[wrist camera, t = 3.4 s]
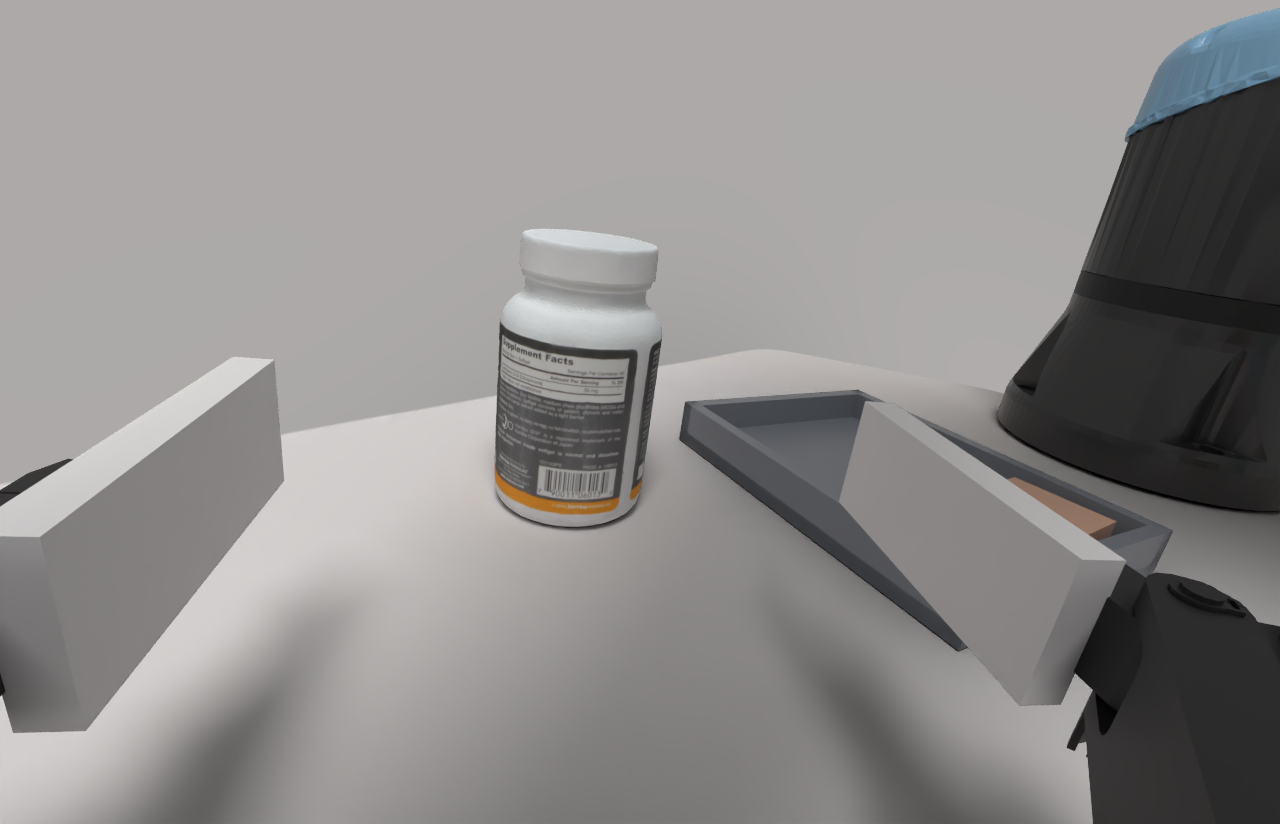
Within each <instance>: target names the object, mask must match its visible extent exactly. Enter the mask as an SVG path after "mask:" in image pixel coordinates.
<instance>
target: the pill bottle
mask: <svg viewBox="0 0 1280 824" xmlns="http://www.w3.org/2000/svg"><path fill="white" fill-rule="evenodd" d="M657 261H658V248H657V247H656V246H655V245H653V244H650V243H647V242H644V241H640V240H636V239H632V238H627V237H621V236H616V235H609V234H602V233H594V232H586V231H575V230H561V229H532V230H526V231H524V232H523V233H522V237H521V249H520V266H521V268H522V273H523V275H524V276H526V278H525V287H524V290H523V291H521V292H519V293H517V294H516V295H515V296H513V297H512V298H511V299H510V300H509V301H508V303H507V304H506V306H505V308H504V310H503V313H502V317H501V320H500V334H499V340H500V345H499V366H498V370H499V373H498V384H497V414H496V445H495V488H496V491H497V493H498V495H499V497H500V499H501V500H502V501H503V502H504V503H505V504H506V505H507V506H508V507H509V508H510V509H511V510H513V511H514V512H516V513H518V514H519V515H521V516H523V517H525V518H528V519H531V520H534V521H537V522H540V523H545V524H550V525H555V526H566V527H580V526H591V525H596V524H602V523H606V522H609V521H612V520H614V519H616V518H618V517H620V516H622V515H623V514H625V513H627V512H628V511H629V510H630V509H631V507H632V506H633V505H634V504H635V503H636V501H637V498H638V496H639V493H640V487H641V482H642V476H643V471H644V461H645V454H646V447H647V440H648V433H649V426H650V419H651V412H652V405H653V397H654V390H655V384H656V378H657V369H658V362H659V355H660V348H661V341H662V329H661V324H660V321H659V318H658V317H657V315H656V314H655V312H654V311H653V310H652V309H651V308H650V307H649V306H648V305H647V304H646V301H645V298H646V290H648V289H650V288H651V285H652V283H653V282H654V281H655V279H656V271H657Z"/></svg>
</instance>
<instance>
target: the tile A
mask: <svg viewBox="0 0 1280 824" xmlns="http://www.w3.org/2000/svg"><path fill="white" fill-rule="evenodd" d="M1007 480H1008V481H1010V482H1011V483H1013V484H1014V485H1016V486H1017V487H1019V488H1020V489H1022V490H1023V491H1024V492H1026V493H1027V494H1029V495H1030V496H1032V497H1033V498H1035V499H1036V500H1038V501H1039V502H1041V503H1042V504H1044V505H1045V506H1047V507H1048V508H1050V509H1051V510H1053V511H1054V512H1055V513H1057V514H1058V515H1060V516H1061V517H1063V518H1064V519H1066V520H1067V521H1069V522H1070V523H1072V524H1073V525H1075V526H1076V527H1078V528H1079V529H1081V530H1082V531H1084V532H1085V533H1086V534H1088V535H1089V536H1091V537H1092V538H1094V539H1095V540H1097V541H1098V540H1102V539H1105V538H1108V537H1110V536H1111V533H1112V531H1113V529H1114V527H1115V524H1116V522H1117V521H1115V520H1112V519H1110V518H1108V517H1105V516H1103V515H1101V514H1098V513H1096V512H1094V511H1092V510H1089V509H1087V508H1085V507H1082V506H1080V505H1078V504H1075V503H1073V502H1071V501H1069V500H1066V499H1064V498H1062V497H1059V496H1057V495H1055V494H1052V493H1050V492H1048V491H1046V490H1043V489H1041V488H1039V487H1036V486H1034V485H1032V484H1029V483H1027V482H1025V481H1023V480H1020V479H1018V478H1016V477H1013V478H1010V479H1007Z"/></svg>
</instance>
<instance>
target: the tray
mask: <svg viewBox="0 0 1280 824" xmlns="http://www.w3.org/2000/svg"><path fill="white" fill-rule="evenodd" d="M865 401H871V402H884V401H882V400H879V399H877V398H875V397H873V396H870V395H868V394H866V393H864V392H862V391H859V390H849V391H835V392H820V393H806V394H791V395H777V396H762V397H748V398H733V399H719V400H704V401H690V402H685V406H684V413H683V419H682V425H681V432H680V438H679V439H680V440H681V441H682V442H684V443H685V444H686V445H688V446H689V447H690V448H692V449H693V450H694V451H696V452H697V453H698V454H700V455H701V456H702V457H704V458H705V459H706V460H708V461H709V462H710V463H711V464H713V465H714V466H715V467H717V468H718V469H719V470H721V471H722V472H723V473H725V474H726V475H727V476H729V477H730V478H731V479H733V480H734V481H735V482H737V483H738V484H739V485H740V486H742V487H743V488H744V489H746V490H747V491H748V492H750V493H751V494H752V495H754V496H755V497H756V498H758V499H759V500H760V501H762V502H763V503H764V504H766V505H767V506H768V507H769V508H771V509H772V510H773V511H775V512H776V513H777V514H779V515H780V516H781V517H783V518H784V519H785V520H787V521H788V522H789V523H791V524H792V525H793V526H795V527H796V528H797V529H798V530H800V531H801V532H802V533H804V534H805V535H806V536H808V537H809V538H810V539H812V540H813V541H814V542H816V543H817V544H818V545H820V546H821V547H822V548H824V549H825V550H826V551H827V552H829V553H830V554H831V555H833V556H834V557H835V558H837V559H838V560H839V561H841V562H842V563H843V564H845V565H846V566H847V567H849V568H850V569H851V570H853V571H854V572H855V573H856V574H858V575H859V576H860V577H862V578H863V579H864V580H866V581H867V582H868V583H870V584H871V585H872V586H874V587H875V588H876V589H878V590H879V591H880V592H881V593H883V594H884V595H885V596H887V597H888V598H889V599H891V600H892V601H893V602H895V603H896V604H897V605H899V606H900V607H901V608H903V609H904V610H905V611H907V612H908V613H909V614H910V615H912V616H913V617H914V618H916V619H917V620H918V621H920V622H921V623H922V624H924V625H925V626H926V627H928V628H929V629H930V630H932V631H933V632H934V633H936V634H937V635H938V636H939V637H941V638H942V639H943V640H945V641H946V642H947V643H949V644H950V645H951V646H953V647H954V648H955V649H957V650H958V651H959V650H962V649H965V648H967V646H966V645H965V644H964V642H963V641H962V640H961V639H960V638H959V637H958V636H957V634H956V633H955V632H954V631H953V630H952V629H951V628H950V627H949V625H948V624H947V623H946V622H945V621H944V620H943V619H942V618H941V616H940V615H939V614H938V613H937V612H936V611H935V610H934V609H933V607H932V606H931V605H930V604H929V603H928V602H927V601H926V600H925V598H924V597H923V596H922V595H921V594H920V593H919V592H918V590H917V589H916V588H915V587H914V586H913V585H912V584H911V583H910V581H909V580H908V579H907V578H906V577H905V576H904V575H903V574H902V572H901V571H900V570H899V569H898V568H897V567H896V566H895V565H894V563H893V562H892V561H891V560H890V559H889V558H888V557H887V556H886V554H885V553H884V552H883V551H882V550H881V549H880V548H879V546H878V545H877V544H876V543H875V542H874V541H873V540H872V539H871V537H870V536H869V535H868V534H867V533H866V532H865V531H864V530H863V528H862V527H861V526H860V525H859V524H858V523H857V522H856V521H855V519H854V518H853V517H852V516H851V515H850V514H849V513H848V512H847V510H846V509H845V508H844V507H843V506H842V505H841V504H840V502H839V499H840V495H841V492H842V488H843V484H844V480H845V476H846V473H847V469H848V465H849V461H850V457H851V453H852V450H853V446H854V442H855V438H856V434H857V431H858V427H859V423H860V419H861V415H862V412H863V408H864V404H865ZM885 403H886V402H885ZM908 413H909V412H908ZM909 414H911V413H909ZM911 415H912V416H914V417H915V418H917V419H918V420H920V421H921V422H923V423H924V424H926V425H927V426H929V427H930V428H932V429H933V430H934V431H936V432H937V433H939V434H940V435H942V436H943V437H945V438H946V439H948V440H949V441H951V442H952V443H954V444H955V445H957V446H958V447H960V448H961V449H962V450H964V451H965V452H967V453H968V454H970V455H971V456H973V457H974V458H976V459H977V460H979V461H980V462H982V463H983V464H985V465H986V466H988V467H989V468H991V469H992V470H993V471H995V472H996V473H998V474H999V475H1001V476H1002V477H1004V478H1005V479H1010V478H1013V477H1016V478H1018V479H1020V480H1023V481H1025V482H1027V483H1029V484H1032V485H1034V486H1036V487H1039V488H1041V489H1043V490H1046V491H1048V492H1050V493H1052V494H1055V495H1057V496H1059V497H1062V498H1064V499H1066V500H1069V501H1071V502H1073V503H1075V504H1078V505H1080V506H1082V507H1085V508H1087V509H1089V510H1092V511H1094V512H1096V513H1098V514H1101V515H1103V516H1105V517H1108V518H1110V519H1112V520H1115V521H1117V522H1116V524H1115V527H1114V529H1113V531H1112V533H1111V536H1110V537H1108V538H1105V539H1102V540H1098V542H1100V543H1101V544H1103V545H1104V546H1106V547H1107V548H1109V549H1110V550H1112V551H1113V552H1115V553H1116V554H1117V555H1119V556H1120V557H1122V558H1123V559H1125V560H1126V563H1125V564H1127V565H1128V566H1130V567H1131V568H1132V569H1134V570H1135V571H1137V572H1138V573H1140V574H1141V575H1143V576H1144V577H1147V575H1150V574H1153V572H1154V570H1155V567H1156V565H1157V563H1158V561H1159V559H1160V557H1161V555H1162V553H1163V551H1164V549H1165V547H1166V544H1167V542H1168V540H1169V538H1170V536H1171V534H1172V532H1173V530H1170V529H1168V528H1166V527H1164V526H1162V525H1159V524H1157V523H1155V522H1153V521H1150V520H1148V519H1146V518H1144V517H1141V516H1139V515H1137V514H1135V513H1132V512H1130V511H1128V510H1126V509H1123V508H1121V507H1119V506H1117V505H1115V504H1112V503H1110V502H1108V501H1106V500H1103V499H1101V498H1099V497H1097V496H1094V495H1092V494H1090V493H1088V492H1085V491H1083V490H1081V489H1079V488H1076V487H1074V486H1072V485H1070V484H1068V483H1065V482H1063V481H1061V480H1059V479H1056V478H1054V477H1052V476H1050V475H1047V474H1045V473H1043V472H1041V471H1038V470H1036V469H1034V468H1032V467H1029V466H1027V465H1025V464H1023V463H1020V462H1018V461H1016V460H1014V459H1012V458H1009V457H1007V456H1005V455H1003V454H1000V453H998V452H996V451H994V450H991V449H989V448H987V447H985V446H982V445H980V444H978V443H976V442H973V441H971V440H969V439H967V438H965V437H962V436H960V435H958V434H956V433H953V432H951V431H949V430H947V429H944V428H942V427H940V426H938V425H935V424H933V423H931V422H929V421H926V420H924V419H922V418H920V417H917V416H915V415H913V414H911Z"/></svg>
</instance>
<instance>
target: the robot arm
mask: <svg viewBox="0 0 1280 824" xmlns="http://www.w3.org/2000/svg"><path fill="white" fill-rule="evenodd" d="M1125 142H1128V144H1127V147H1126V150H1125V153H1124V156H1123V158H1122V161H1121V164H1120V167H1119V169H1118V172H1117V175H1116V178H1115V181H1114V184H1113V186H1112V189H1111V192H1110V195H1109V198H1108V200H1107V203H1106V206H1105V208H1104V211H1103V213H1102V216H1101V219H1100V221H1099V224H1098V227H1097V229H1096V232H1095V235H1094V237H1093V240H1092V243H1091V245H1090V248H1089V251H1088V254H1087V256H1086V259H1085V261H1084V264H1083V267H1082V270H1081V274H1080V276H1079V278H1078V281H1077V284H1076V287H1075V290H1074V293H1073V295H1072V297H1071V300H1070V303H1069V305H1068V307H1067V308H1066V310H1065V312H1064V313H1063V314H1062V316H1061V317H1060V318H1059V319H1058V321H1057V322H1056V323H1055V324H1054V326H1053V327H1052V329H1051V330H1050V331H1049V332H1048V333H1047V335H1046V336H1045V337H1044V339H1043V340H1042V341H1041V342H1040V344H1039V345H1038V346H1037V347H1036V349H1035V350H1034V351H1033V352H1032V354H1031V355H1030V356H1029V358H1028V359H1027V360H1026V361H1025V363H1024V364H1023V365H1022V366H1021V368H1020V369H1019V371H1018V372H1017V373H1016V374H1015V375H1014V377H1013V378H1012V379H1011V380H1010V382H1009V384H1008V386H1007V388H1006V390H1005V393H1004V396H1003V399H1002V402H1001V405H1000V408H999V411H998V414H997V417H998V420H999V421H1000V423H1001V424H1002V425H1003V426H1004V427H1005V428H1006V429H1007V430H1009V431H1010V432H1011V433H1012V434H1014V435H1015V436H1017V437H1018V438H1020V439H1022V440H1023V441H1025V442H1027V443H1029V444H1030V445H1032V446H1034V447H1036V448H1038V449H1040V450H1042V451H1044V452H1046V453H1048V454H1050V455H1053V456H1055V457H1057V458H1059V459H1062V460H1064V461H1066V462H1069V463H1071V464H1074V465H1076V466H1079V467H1081V468H1084V469H1086V470H1089V471H1092V472H1095V473H1097V474H1100V475H1103V476H1106V477H1109V478H1112V479H1115V480H1118V481H1121V482H1124V483H1127V484H1131V485H1134V486H1137V487H1141V488H1144V489H1148V490H1151V491H1155V492H1159V493H1162V494H1166V495H1170V496H1174V497H1178V498H1183V499H1187V500H1192V501H1196V502H1201V503H1206V504H1211V505H1217V506H1223V507H1229V508H1237V509H1245V510H1257V511H1280V8H1278V9H1274V10H1270V11H1266V12H1262V13H1258V14H1254V15H1251V16H1247V17H1244V18H1241V19H1237V20H1234V21H1231V22H1229V23H1226V24H1223V25H1220V26H1217V27H1215V28H1212V29H1210V30H1208V31H1205V32H1203V33H1201V34H1199V35H1197V36H1195V37H1193V38H1191V39H1190V40H1188V41H1186V42H1185V43H1183V44H1182V45H1180V46H1179V47H1178V48H1177V49H1175V50H1174V51H1173V52H1172V53H1171V54H1170V55H1169V56H1168V57H1167V58H1166V59H1165V60H1164V61H1163V62H1162V64H1161V65H1160V66H1159V68H1158V70H1157V72H1156V73H1155V75H1154V78H1153V80H1152V83H1151V85H1150V87H1149V90H1148V92H1147V94H1146V97H1145V99H1144V102H1143V104H1142V106H1141V108H1140V111H1139V113H1138V115H1137V118H1136V120H1135V123H1134V125H1132V126H1131V127H1130V128H1129V129H1128V131H1127V133H1126V136H1125ZM278 411H279V410H278V398H277V386H276V373H275V361H274V360H271V359H257V358H243V357H232V358H230V359H229V360H227V361H226V362H224V363H223V364H221V365H220V366H218V367H217V368H215V369H213V370H212V371H210V372H209V373H207V374H206V375H204V376H203V377H201V378H200V379H198V380H196V381H195V382H193V383H192V384H190V385H189V386H187V387H185V388H184V389H182V390H181V391H179V392H178V393H176V394H175V395H173V396H171V397H170V398H168V399H167V400H165V401H164V402H162V403H161V404H159V405H158V406H156V407H154V408H153V409H151V410H150V411H148V412H147V413H145V414H143V415H142V416H140V417H139V418H137V419H136V420H134V421H133V422H131V423H130V424H128V425H126V426H125V427H123V428H122V429H120V430H119V431H117V432H116V433H114V434H112V435H111V436H109V437H108V438H106V439H105V440H103V441H102V442H100V443H98V444H97V445H95V446H94V447H92V448H91V449H89V450H88V451H86V452H84V453H83V454H81V455H80V456H78V457H77V458H75V459H66V460H63V461H61V462H58V463H55V464H52V465H50V466H47V467H44V468H41V469H39V470H36V471H33V472H30V473H28V474H26V475H24V476H23V477H21V478H19V479H18V480H16V481H14V482H13V483H11V484H10V485H8V486H6V487H5V488H3V489H1V490H0V696H1V695H2V696H3V700H4V703H5V706H6V710H7V713H8V717H9V720H10V724H11V727H12V730H13V733H27V732H64V731H86V730H87V729H88V728H89V726H90V725H91V724H92V722H93V721H94V720H95V719H96V717H97V716H98V715H99V714H100V712H101V711H102V710H103V709H104V707H105V706H106V705H107V704H108V702H109V701H110V700H111V698H112V697H113V696H114V695H115V693H116V692H117V691H118V690H119V688H120V687H121V686H122V685H123V683H124V682H125V681H126V680H127V678H128V677H129V676H130V674H131V673H132V672H133V671H134V669H135V668H136V667H137V666H138V664H139V663H140V662H141V661H142V659H143V658H144V657H145V656H146V654H147V653H148V652H149V651H150V649H151V648H152V647H153V645H154V644H155V643H156V642H157V640H158V639H159V638H160V637H161V635H162V634H163V633H164V632H165V630H166V629H167V628H168V627H169V625H170V624H171V623H172V621H173V620H174V619H175V618H176V616H177V615H178V614H179V613H180V611H181V610H182V609H183V608H184V606H185V605H186V604H187V603H188V601H189V600H190V599H191V598H192V596H193V595H194V594H195V592H196V591H197V590H198V589H199V587H200V586H201V585H202V584H203V582H204V581H205V580H206V579H207V577H208V576H209V575H210V574H211V572H212V571H213V570H214V568H215V567H216V566H217V565H218V563H219V562H220V561H221V560H222V558H223V557H224V556H225V555H226V553H227V552H228V551H229V550H230V548H231V547H232V546H233V544H234V543H235V542H236V541H237V539H238V538H239V537H240V536H241V534H242V533H243V532H244V531H245V529H246V528H247V527H248V526H249V524H250V523H251V522H252V521H253V519H254V518H255V517H256V515H257V514H258V513H259V512H260V510H261V509H262V508H263V507H264V505H265V504H266V503H267V502H268V500H269V499H270V498H271V497H272V495H273V494H274V493H275V491H276V490H277V489H278V488H279V486H280V485H281V484H282V483H283V481H284V473H283V460H282V448H281V435H280V424H279V412H278ZM839 502H840V504H841V505H842V506H843V507H844V508H845V509H846V510H847V512H848V513H849V514H850V515H851V516H852V517H853V518H854V519H855V521H856V522H857V523H858V524H859V525H860V526H861V527H862V528H863V530H864V531H865V532H866V533H867V534H868V535H869V536H870V537H871V539H872V540H873V541H874V542H875V543H876V544H877V545H878V546H879V548H880V549H881V550H882V551H883V552H884V553H885V554H886V556H887V557H888V558H889V559H890V560H891V561H892V562H893V563H894V565H895V566H896V567H897V568H898V569H899V570H900V571H901V572H902V574H903V575H904V576H905V577H906V578H907V579H908V580H909V581H910V583H911V584H912V585H913V586H914V587H915V588H916V589H917V590H918V592H919V593H920V594H921V595H922V596H923V597H924V598H925V600H926V601H927V602H928V603H929V604H930V605H931V606H932V607H933V609H934V610H935V611H936V612H937V613H938V614H939V615H940V616H941V618H942V619H943V620H944V621H945V622H946V623H947V624H948V625H949V627H950V628H951V629H952V630H953V631H954V632H955V633H956V634H957V636H958V637H959V638H960V639H961V640H962V641H963V642H964V644H965V645H966V646H967V647H968V648H969V649H970V650H971V651H972V653H973V654H974V655H975V656H976V657H977V658H978V659H979V660H980V662H981V663H982V664H983V665H984V666H985V667H986V668H987V669H988V671H989V672H990V673H991V674H992V675H993V676H994V677H995V678H996V680H997V681H998V682H999V683H1000V684H1001V685H1002V686H1003V688H1004V689H1005V690H1006V691H1007V692H1008V693H1009V694H1010V695H1011V697H1012V698H1013V699H1014V700H1015V701H1016V702H1017V703H1018V704H1019V706H1028V705H1061V703H1062V701H1063V699H1064V696H1065V694H1066V692H1067V690H1068V688H1069V685H1070V683H1071V681H1072V679H1073V677H1074V674H1075V673H1076V674H1077V675H1078V676H1079V677H1080V678H1081V679H1082V680H1083V681H1084V682H1085V683H1086V684H1087V685H1088V686H1089V687H1090V688H1091V689H1092V690H1093V691H1092V693H1091V695H1090V697H1089V699H1088V701H1087V703H1086V706H1085V708H1084V710H1083V712H1082V714H1081V716H1080V718H1079V720H1078V722H1077V725H1076V727H1075V729H1074V731H1073V733H1072V735H1071V737H1070V739H1069V742H1068V745H1067V748H1069V749H1071V750H1073V751H1075V749H1076V747H1077V745H1078V743H1082V742H1086V743H1087V755H1086V757H1088V767H1089V779H1090V791H1091V803H1092V815H1093V824H1280V627H1279V626H1274V625H1269V624H1265V623H1260V622H1257V621H1256V619H1255V617H1254V616H1253V615H1252V614H1251V613H1250V612H1249V610H1248V609H1247V608H1246V607H1244V606H1243V605H1242V604H1241V603H1240V602H1239V601H1237V600H1235V599H1233V598H1231V597H1230V596H1228V595H1226V594H1224V593H1222V592H1220V591H1219V590H1217V589H1216V588H1214V587H1212V586H1210V585H1207V584H1205V583H1203V582H1200V581H1196V580H1192V579H1188V578H1185V577H1181V576H1177V575H1173V574H1165V573H1154V574H1150V575H1147V577H1144V576H1143V575H1141V574H1140V573H1138V572H1137V571H1135V570H1134V569H1132V568H1131V567H1130V566H1128V565H1127V564H1125V563H1126V560H1125V559H1123V558H1122V557H1120V556H1119V555H1117V554H1116V553H1115V552H1113V551H1112V550H1110V549H1109V548H1107V547H1106V546H1104V545H1103V544H1101V543H1100V542H1098V541H1097V540H1095V539H1094V538H1092V537H1091V536H1089V535H1088V534H1086V533H1085V532H1084V531H1082V530H1081V529H1079V528H1078V527H1076V526H1075V525H1073V524H1072V523H1070V522H1069V521H1067V520H1066V519H1064V518H1063V517H1061V516H1060V515H1058V514H1057V513H1055V512H1054V511H1053V510H1051V509H1050V508H1048V507H1047V506H1045V505H1044V504H1042V503H1041V502H1039V501H1038V500H1036V499H1035V498H1033V497H1032V496H1030V495H1029V494H1027V493H1026V492H1024V491H1023V490H1022V489H1020V488H1019V487H1017V486H1016V485H1014V484H1013V483H1011V482H1010V481H1008V480H1007V479H1005V478H1004V477H1002V476H1001V475H999V474H998V473H996V472H995V471H993V470H992V469H991V468H989V467H988V466H986V465H985V464H983V463H982V462H980V461H979V460H977V459H976V458H974V457H973V456H971V455H970V454H968V453H967V452H965V451H964V450H962V449H961V448H960V447H958V446H957V445H955V444H954V443H952V442H951V441H949V440H948V439H946V438H945V437H943V436H942V435H940V434H939V433H937V432H936V431H934V430H933V429H932V428H930V427H929V426H927V425H926V424H924V423H923V422H921V421H920V420H918V419H917V418H915V417H914V416H912V415H911V414H909V413H908V412H906V411H905V410H903V409H902V408H901V407H899V406H898V405H896V404H895V403H885V402H871V401H865V404H864V408H863V412H862V415H861V419H860V423H859V427H858V431H857V434H856V438H855V442H854V446H853V450H852V453H851V457H850V461H849V465H848V469H847V473H846V476H845V480H844V484H843V488H842V492H841V495H840V499H839Z"/></svg>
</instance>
